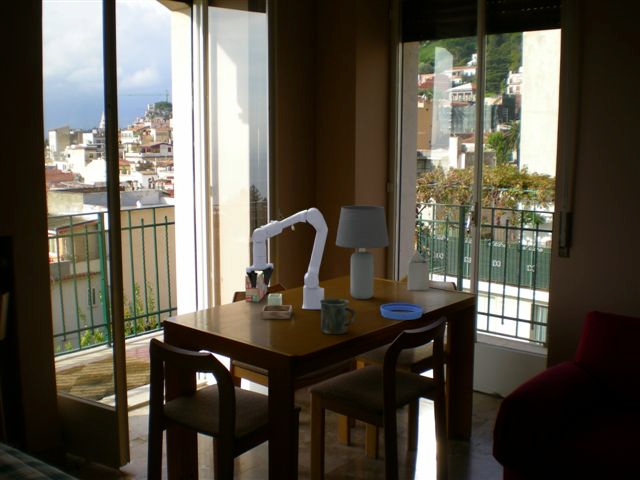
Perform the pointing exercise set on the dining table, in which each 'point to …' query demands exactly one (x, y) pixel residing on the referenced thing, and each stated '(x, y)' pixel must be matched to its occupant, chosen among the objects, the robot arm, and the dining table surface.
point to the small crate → (275, 299)
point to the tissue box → (418, 273)
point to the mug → (335, 315)
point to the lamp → (362, 243)
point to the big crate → (276, 312)
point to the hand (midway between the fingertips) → (260, 286)
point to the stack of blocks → (257, 292)
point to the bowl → (401, 311)
